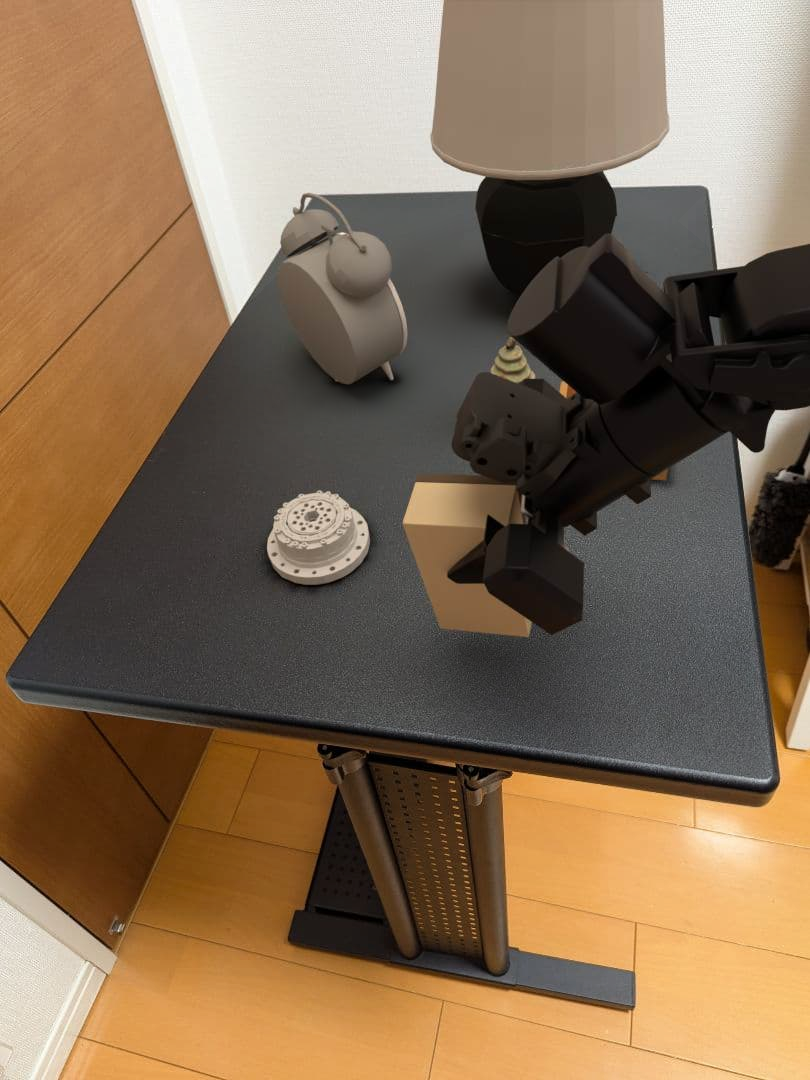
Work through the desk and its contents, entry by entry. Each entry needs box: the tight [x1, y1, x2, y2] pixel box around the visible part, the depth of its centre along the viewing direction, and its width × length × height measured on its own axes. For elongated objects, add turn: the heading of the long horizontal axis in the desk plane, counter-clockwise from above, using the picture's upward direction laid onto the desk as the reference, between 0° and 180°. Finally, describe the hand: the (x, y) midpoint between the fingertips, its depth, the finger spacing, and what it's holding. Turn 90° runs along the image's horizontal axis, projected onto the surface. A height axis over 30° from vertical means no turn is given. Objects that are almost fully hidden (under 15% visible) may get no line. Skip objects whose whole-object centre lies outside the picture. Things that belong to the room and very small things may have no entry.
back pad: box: [402, 473, 533, 638], centre depth 55 cm, size 4×7×13 cm, turn 75°
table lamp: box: [429, 0, 670, 299], centre depth 89 cm, size 27×27×40 cm
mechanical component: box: [266, 490, 371, 586], centre depth 74 cm, size 10×4×10 cm
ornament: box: [489, 336, 536, 384], centre depth 83 cm, size 8×6×10 cm
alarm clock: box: [277, 192, 409, 385], centre depth 88 cm, size 16×9×22 cm, turn 37°
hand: (456, 551), depth 55 cm, fingers closed on back pad, 5 cm apart
